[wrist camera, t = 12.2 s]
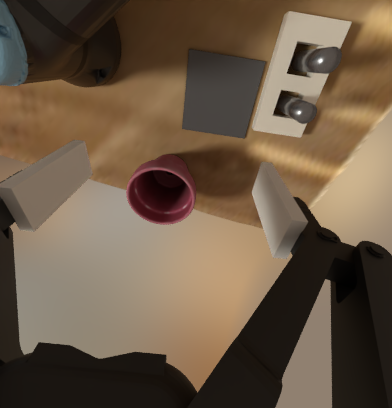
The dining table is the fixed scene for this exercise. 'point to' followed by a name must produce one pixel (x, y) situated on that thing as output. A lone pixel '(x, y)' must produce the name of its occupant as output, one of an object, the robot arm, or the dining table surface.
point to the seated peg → (297, 108)
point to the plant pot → (162, 190)
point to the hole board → (306, 86)
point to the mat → (220, 93)
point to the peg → (317, 60)
